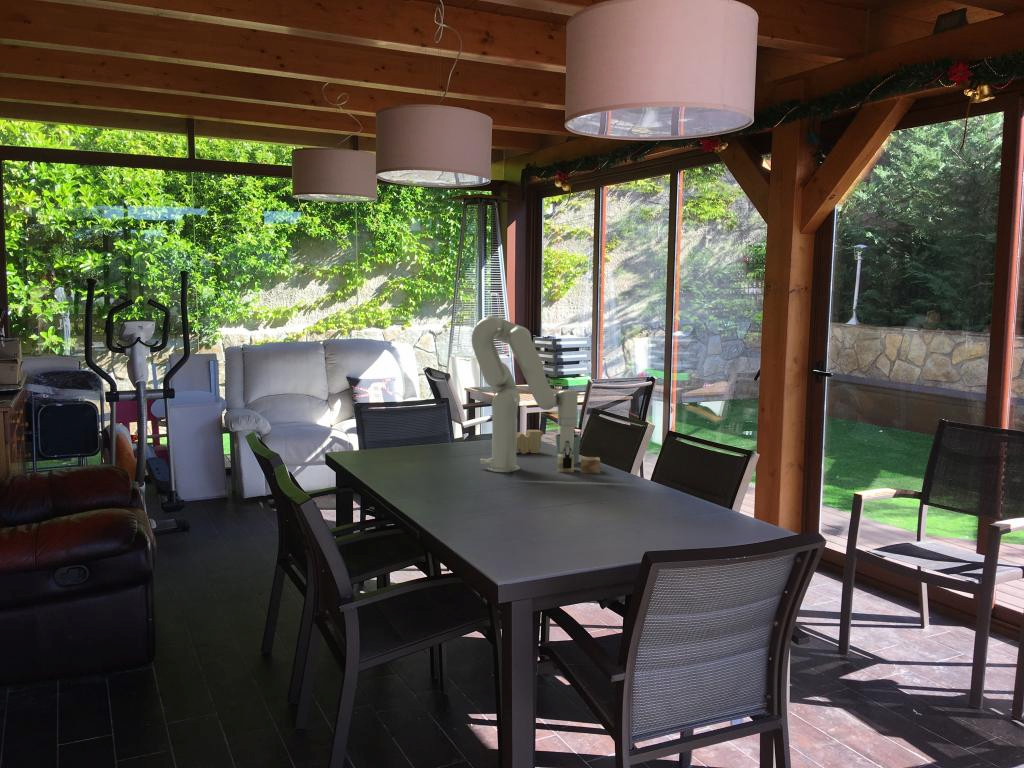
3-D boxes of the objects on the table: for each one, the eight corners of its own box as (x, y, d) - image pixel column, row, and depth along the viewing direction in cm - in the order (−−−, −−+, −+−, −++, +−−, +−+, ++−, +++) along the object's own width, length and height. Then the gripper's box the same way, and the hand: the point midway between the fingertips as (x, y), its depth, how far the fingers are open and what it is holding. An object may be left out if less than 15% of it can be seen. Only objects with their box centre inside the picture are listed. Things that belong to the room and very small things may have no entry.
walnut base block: (581, 472, 334) (581, 459, 333) (580, 469, 341) (581, 456, 340) (599, 473, 333) (600, 460, 333) (598, 470, 340) (599, 457, 340)
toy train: (502, 452, 382) (502, 429, 381) (539, 451, 386) (540, 429, 385) (505, 454, 376) (505, 431, 375) (543, 454, 381) (543, 431, 380)
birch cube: (557, 472, 335) (558, 456, 334) (557, 469, 341) (558, 453, 340) (573, 472, 334) (574, 457, 334) (573, 469, 340) (573, 454, 340)
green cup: (584, 465, 355) (585, 436, 354) (565, 467, 349) (565, 437, 348) (569, 461, 363) (570, 432, 362) (549, 463, 358) (550, 434, 357)
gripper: (557, 419, 345) (557, 462, 346) (557, 424, 327) (557, 470, 329) (576, 419, 344) (576, 462, 346) (577, 424, 327) (577, 470, 328)
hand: (567, 466), depth 337 cm, fingers open, 9 cm apart
